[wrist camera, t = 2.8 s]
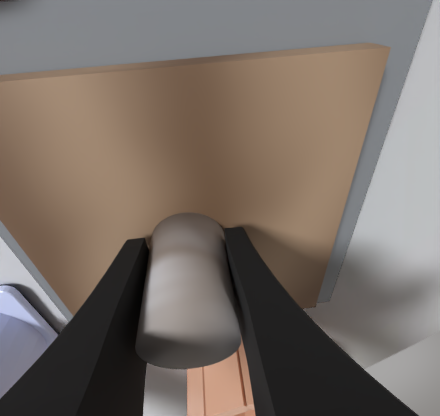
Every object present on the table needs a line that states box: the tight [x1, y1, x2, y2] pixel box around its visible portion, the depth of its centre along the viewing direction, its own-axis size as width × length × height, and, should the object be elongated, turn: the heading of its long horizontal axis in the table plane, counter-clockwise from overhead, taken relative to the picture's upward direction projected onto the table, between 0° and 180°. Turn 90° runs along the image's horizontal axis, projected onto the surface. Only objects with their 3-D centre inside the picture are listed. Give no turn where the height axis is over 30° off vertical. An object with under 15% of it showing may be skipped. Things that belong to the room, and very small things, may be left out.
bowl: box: [187, 333, 256, 416], centre depth 19 cm, size 10×10×4 cm
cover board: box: [0, 43, 391, 369], centre depth 9 cm, size 12×12×5 cm
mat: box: [0, 0, 432, 322], centre depth 11 cm, size 15×15×1 cm
